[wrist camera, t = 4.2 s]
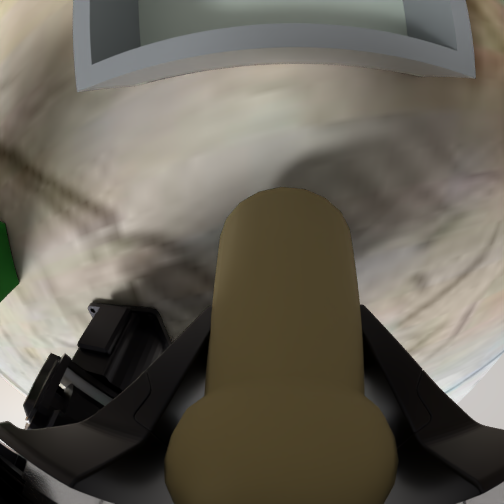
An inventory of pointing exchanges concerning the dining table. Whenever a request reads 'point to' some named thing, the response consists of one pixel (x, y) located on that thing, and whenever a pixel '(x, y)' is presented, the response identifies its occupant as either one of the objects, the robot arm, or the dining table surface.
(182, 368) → the robot arm
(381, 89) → the dining table surface
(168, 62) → the box
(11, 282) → the milk carton
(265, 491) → the cork
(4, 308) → the dining table surface
